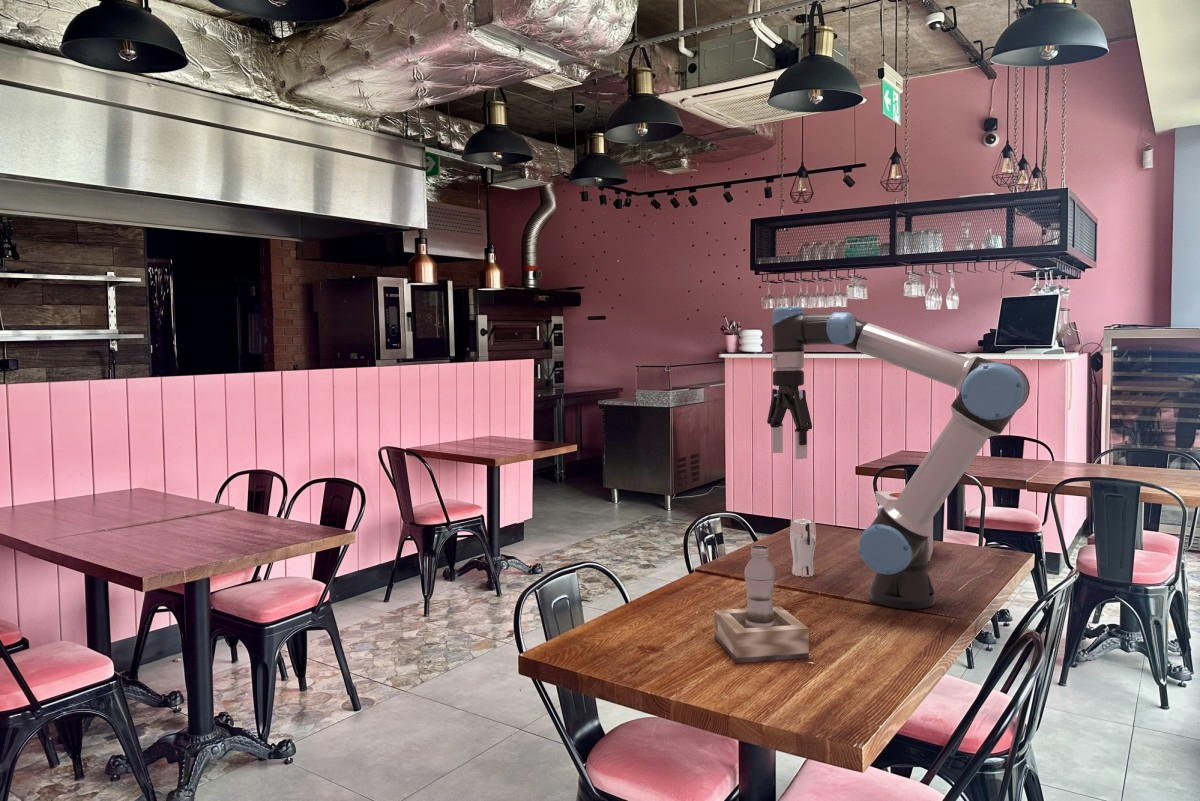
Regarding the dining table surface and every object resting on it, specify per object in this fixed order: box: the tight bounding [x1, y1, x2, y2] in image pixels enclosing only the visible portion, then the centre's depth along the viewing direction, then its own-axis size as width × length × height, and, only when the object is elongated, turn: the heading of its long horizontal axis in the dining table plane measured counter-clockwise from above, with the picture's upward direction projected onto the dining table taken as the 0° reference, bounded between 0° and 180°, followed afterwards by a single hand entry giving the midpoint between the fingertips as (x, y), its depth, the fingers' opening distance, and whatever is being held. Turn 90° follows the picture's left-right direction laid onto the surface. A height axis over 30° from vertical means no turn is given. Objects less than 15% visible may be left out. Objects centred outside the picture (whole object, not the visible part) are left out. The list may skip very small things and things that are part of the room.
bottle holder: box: [713, 605, 810, 664], centre depth 172 cm, size 15×15×6 cm
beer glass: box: [789, 518, 817, 578], centre depth 229 cm, size 7×7×15 cm
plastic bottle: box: [743, 545, 776, 628], centre depth 172 cm, size 6×7×20 cm
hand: (788, 455), depth 204 cm, fingers open, 13 cm apart
